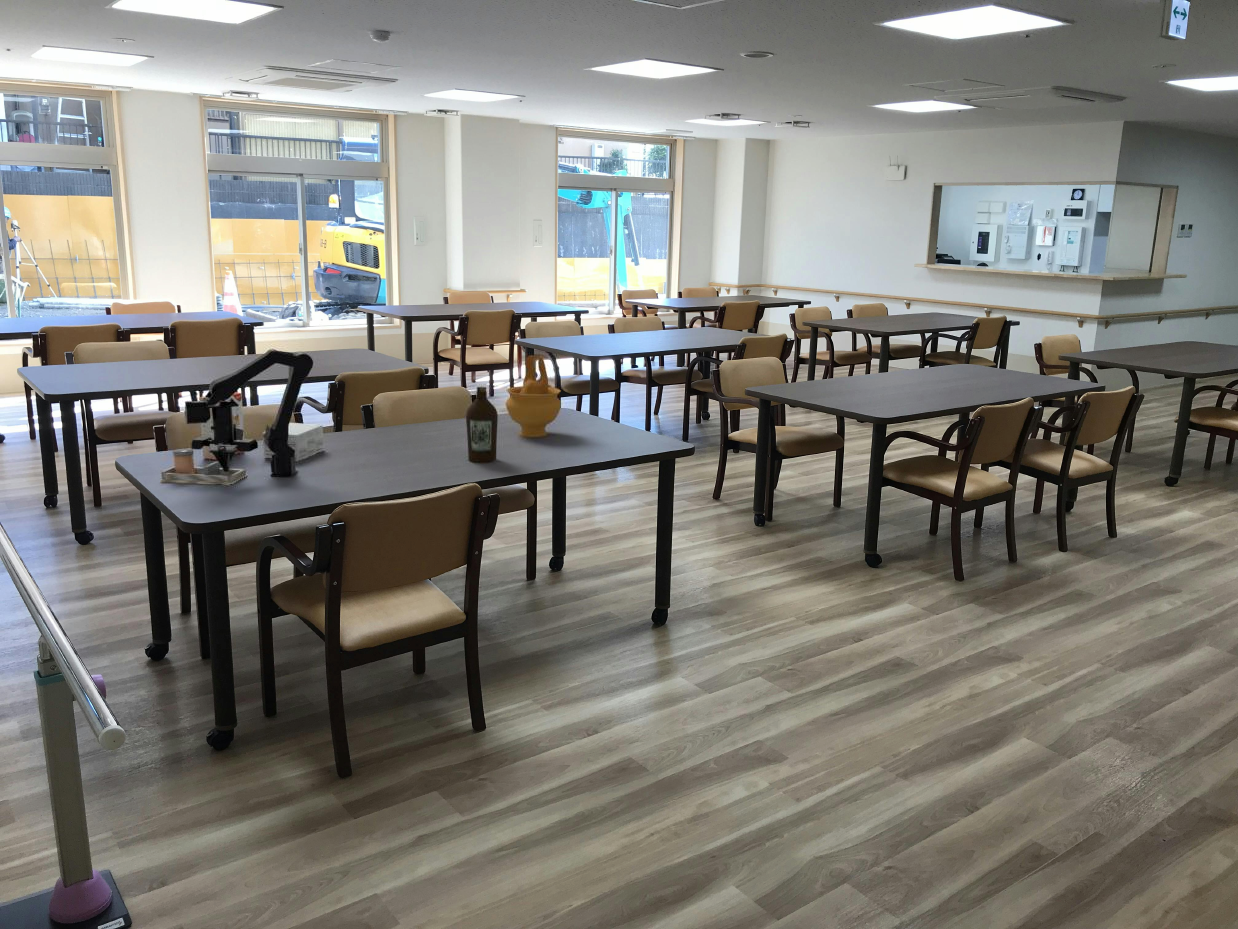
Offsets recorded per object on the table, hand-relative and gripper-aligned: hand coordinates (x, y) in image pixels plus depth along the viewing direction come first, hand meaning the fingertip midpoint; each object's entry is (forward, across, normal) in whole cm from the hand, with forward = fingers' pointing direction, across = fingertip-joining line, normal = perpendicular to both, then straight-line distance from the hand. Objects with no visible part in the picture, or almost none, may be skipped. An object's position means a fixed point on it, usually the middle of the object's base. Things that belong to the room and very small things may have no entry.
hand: (226, 471), depth 300 cm
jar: (+2, +14, 0) cm, 14 cm away
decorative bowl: (+3, -79, -86) cm, 117 cm away
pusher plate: (+3, +5, 0) cm, 5 cm away
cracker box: (+3, +16, -30) cm, 34 cm away
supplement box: (+3, -5, -36) cm, 37 cm away
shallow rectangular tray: (+3, +7, 0) cm, 8 cm away
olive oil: (+3, -70, -41) cm, 81 cm away
